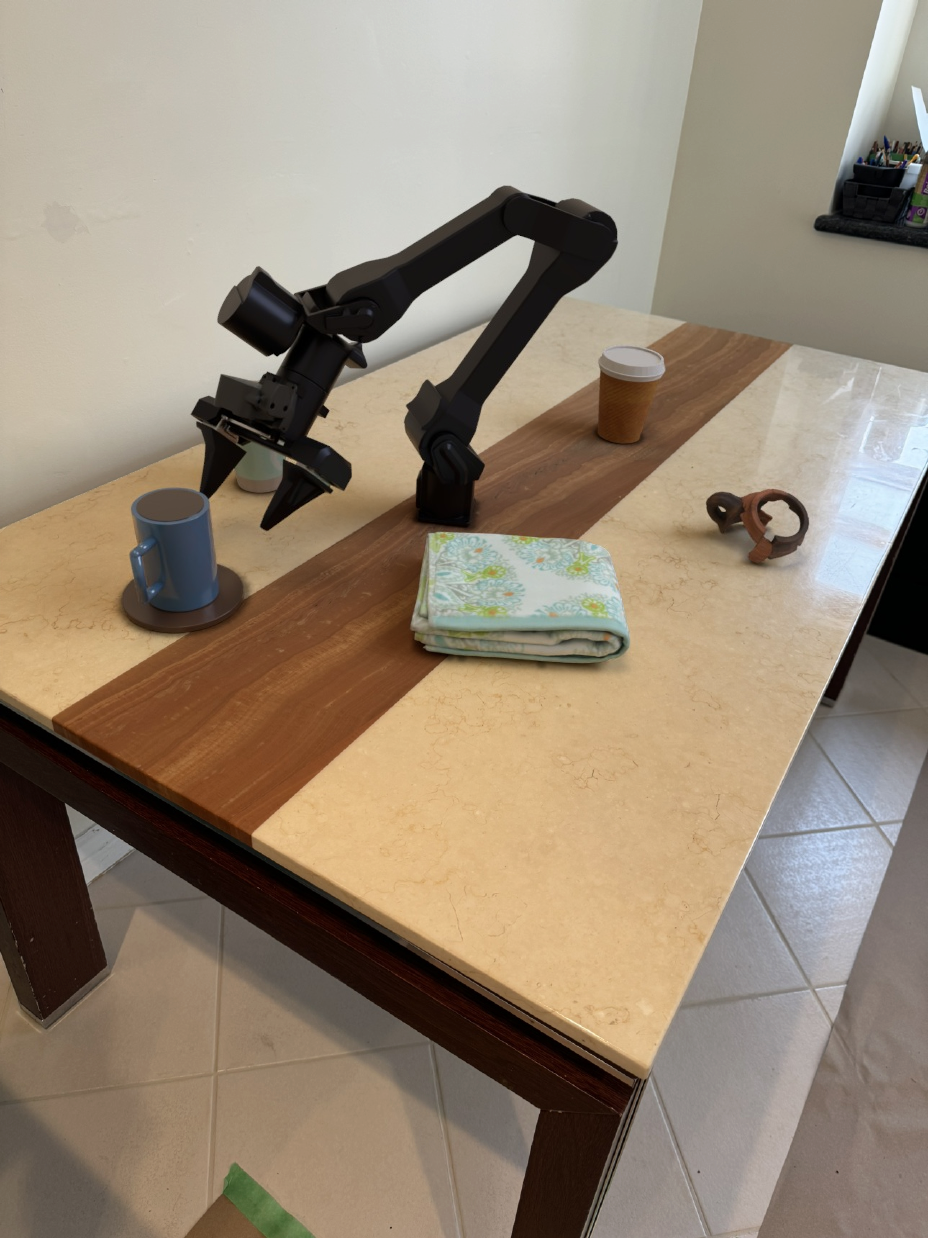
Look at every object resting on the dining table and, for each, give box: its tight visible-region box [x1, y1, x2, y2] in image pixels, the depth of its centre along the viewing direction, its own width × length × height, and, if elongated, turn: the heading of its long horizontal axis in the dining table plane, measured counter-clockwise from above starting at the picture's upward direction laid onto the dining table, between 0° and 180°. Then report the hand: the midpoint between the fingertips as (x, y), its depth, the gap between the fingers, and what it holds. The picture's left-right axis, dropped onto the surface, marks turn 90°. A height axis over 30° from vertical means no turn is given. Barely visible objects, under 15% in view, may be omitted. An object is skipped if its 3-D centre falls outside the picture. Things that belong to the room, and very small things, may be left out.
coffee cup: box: [234, 379, 287, 494], centre depth 107 cm, size 9×8×12 cm
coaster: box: [121, 563, 245, 634], centre depth 89 cm, size 12×12×1 cm
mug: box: [128, 487, 220, 612], centre depth 85 cm, size 10×7×10 cm
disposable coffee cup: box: [597, 344, 666, 444], centre depth 126 cm, size 10×10×12 cm
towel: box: [410, 531, 631, 664], centre depth 90 cm, size 18×21×5 cm
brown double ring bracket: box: [705, 488, 810, 564], centre depth 105 cm, size 12×10×8 cm
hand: (232, 513), depth 90 cm, fingers open, 9 cm apart
